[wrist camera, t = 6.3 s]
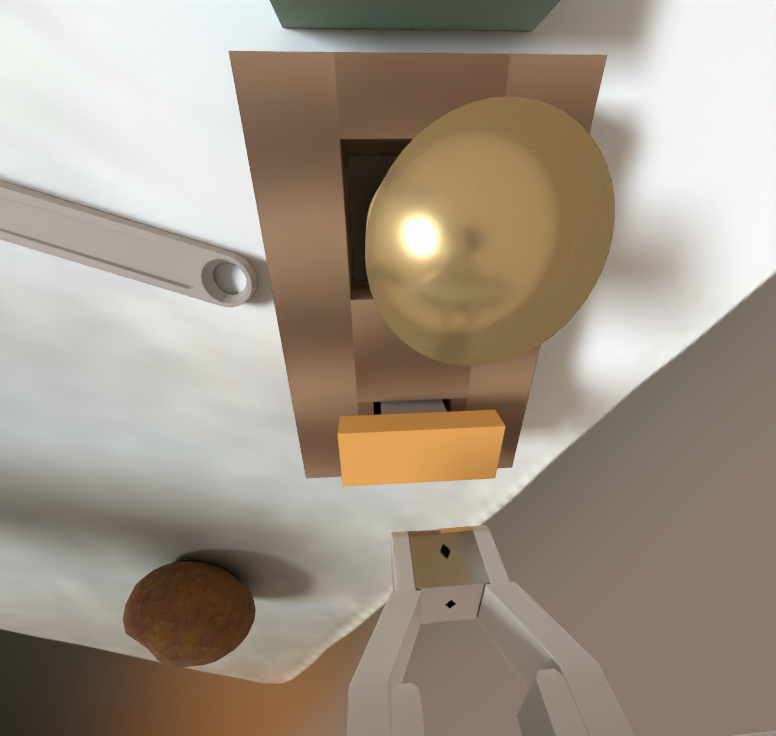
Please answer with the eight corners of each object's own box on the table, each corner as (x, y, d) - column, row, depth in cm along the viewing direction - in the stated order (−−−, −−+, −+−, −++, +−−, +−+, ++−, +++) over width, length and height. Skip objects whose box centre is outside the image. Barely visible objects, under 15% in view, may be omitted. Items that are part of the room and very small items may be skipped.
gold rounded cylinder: (364, 176, 15) (357, 95, 4) (449, 175, 15) (655, 96, 4) (368, 264, 17) (369, 369, 6) (443, 263, 17) (576, 362, 6)
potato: (160, 535, 25) (102, 627, 20) (277, 564, 28) (255, 652, 22) (144, 578, 28) (89, 671, 22) (253, 601, 30) (228, 689, 25)
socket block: (266, 93, 13) (228, 50, 10) (545, 94, 14) (607, 55, 10) (316, 433, 21) (306, 478, 18) (488, 425, 22) (511, 467, 18)
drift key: (346, 365, 18) (337, 433, 13) (464, 361, 19) (505, 426, 13) (349, 408, 20) (342, 486, 14) (459, 403, 20) (495, 478, 14)
